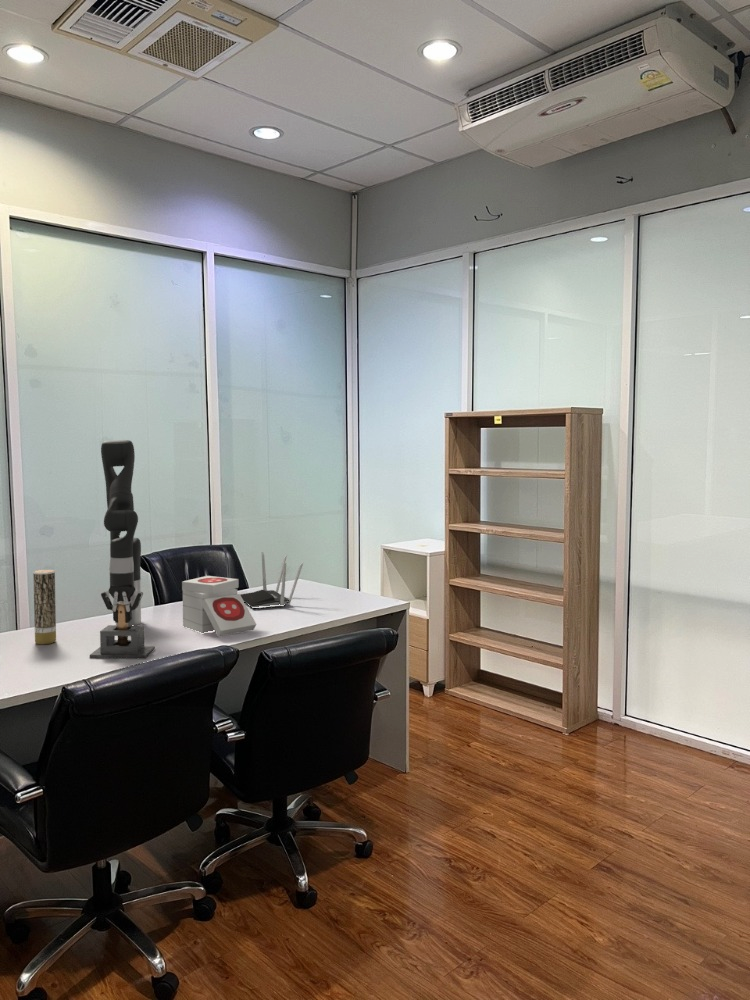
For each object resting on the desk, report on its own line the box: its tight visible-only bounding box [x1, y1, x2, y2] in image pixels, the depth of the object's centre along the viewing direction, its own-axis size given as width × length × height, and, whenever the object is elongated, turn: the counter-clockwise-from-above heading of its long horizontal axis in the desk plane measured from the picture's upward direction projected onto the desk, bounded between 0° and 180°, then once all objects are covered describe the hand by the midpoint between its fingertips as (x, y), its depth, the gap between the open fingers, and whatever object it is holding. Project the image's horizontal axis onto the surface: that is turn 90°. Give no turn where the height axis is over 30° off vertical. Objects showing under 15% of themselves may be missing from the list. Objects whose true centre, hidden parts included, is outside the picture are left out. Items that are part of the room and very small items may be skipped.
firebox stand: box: [89, 624, 156, 660], centre depth 253 cm, size 11×18×8 cm, turn 90°
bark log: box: [32, 569, 57, 645], centre depth 265 cm, size 7×7×25 cm
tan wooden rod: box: [117, 604, 129, 645], centre depth 253 cm, size 3×3×14 cm
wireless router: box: [239, 552, 304, 608], centre depth 335 cm, size 34×23×20 cm
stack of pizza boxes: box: [181, 575, 257, 637], centre depth 286 cm, size 19×30×18 cm, turn 42°
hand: (122, 622), depth 253 cm, fingers closed on tan wooden rod, 3 cm apart
